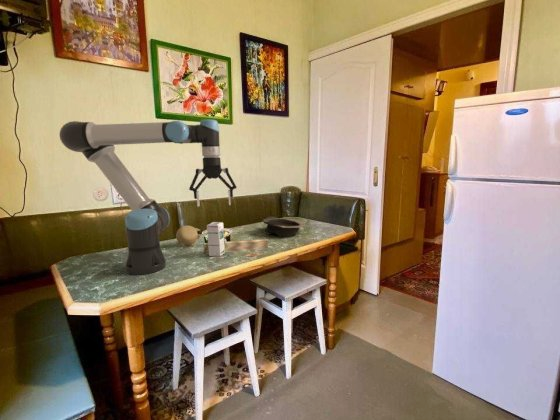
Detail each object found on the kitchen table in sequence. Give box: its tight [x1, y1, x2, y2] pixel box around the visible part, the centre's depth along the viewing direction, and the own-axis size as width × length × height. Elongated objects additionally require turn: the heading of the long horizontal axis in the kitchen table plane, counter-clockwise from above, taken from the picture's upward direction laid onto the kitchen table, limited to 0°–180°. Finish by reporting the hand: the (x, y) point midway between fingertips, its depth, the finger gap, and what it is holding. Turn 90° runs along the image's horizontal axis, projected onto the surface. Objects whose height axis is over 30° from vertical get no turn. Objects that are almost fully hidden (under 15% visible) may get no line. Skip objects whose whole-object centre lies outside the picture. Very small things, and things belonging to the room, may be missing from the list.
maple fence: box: [203, 238, 269, 260], centre depth 140 cm, size 30×12×4 cm, turn 100°
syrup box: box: [206, 221, 226, 257], centre depth 138 cm, size 6×6×14 cm
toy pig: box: [175, 225, 202, 247], centre depth 152 cm, size 10×12×11 cm
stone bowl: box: [261, 215, 306, 238], centre depth 174 cm, size 25×25×9 cm
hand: (214, 205), depth 135 cm, fingers open, 13 cm apart
